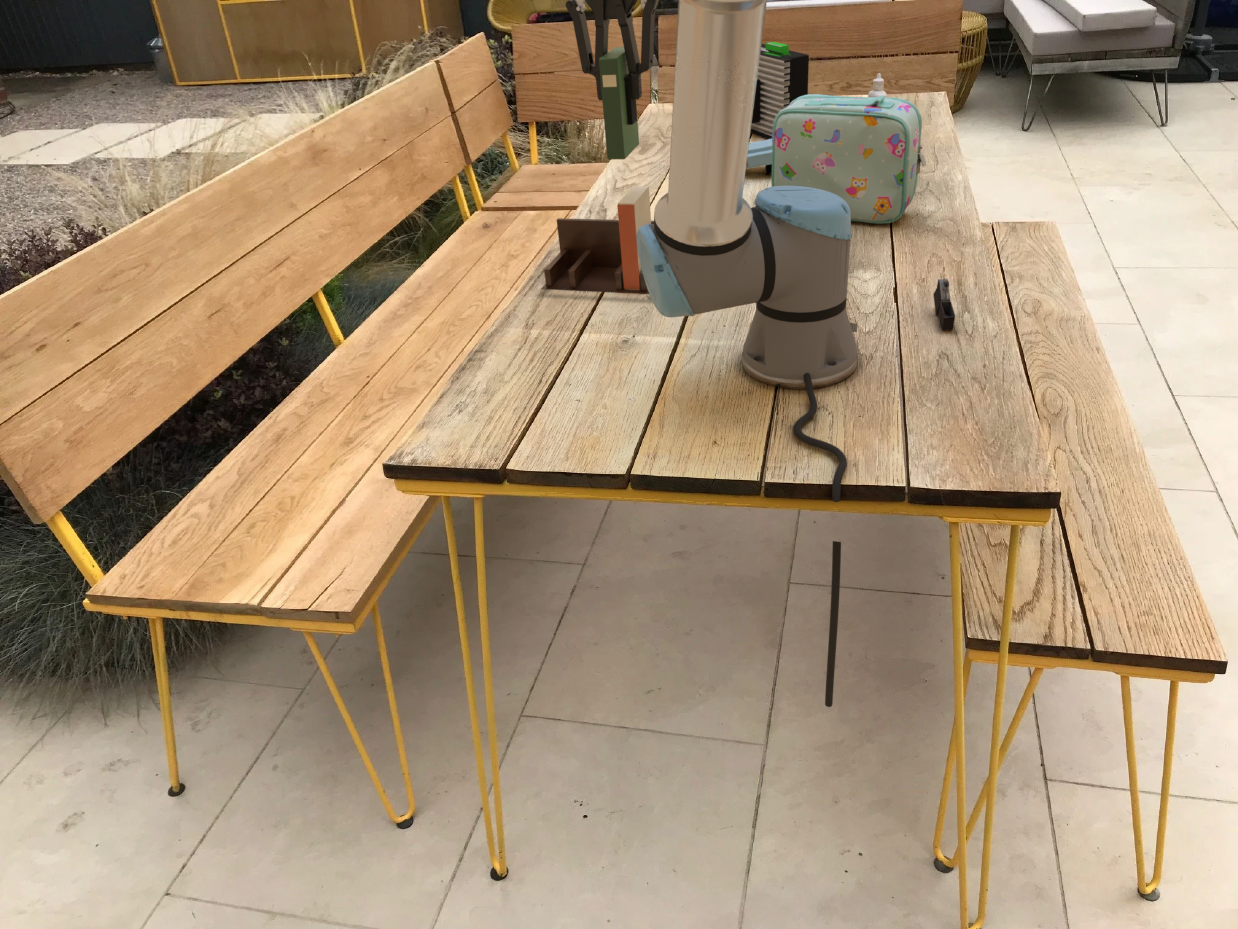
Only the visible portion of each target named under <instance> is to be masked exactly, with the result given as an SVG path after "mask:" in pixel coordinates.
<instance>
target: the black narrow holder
mask: <svg viewBox="0 0 1238 929" xmlns="http://www.w3.org/2000/svg"><path fill="white" fill-rule="evenodd" d="M932 294H933V303H934V304H933V305H934V312H935V313H934V314H935V316H937V317H938V322H939V326H940V328H941V330H942V331H953V330H954V326H955V321H956V320H955V319H956V313H955V310H954V307H953V303H952V301H951V294H950V281H949V279H948V278H939V279H937V284H936V288H935V290H934V292H933V293H932Z"/></svg>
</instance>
